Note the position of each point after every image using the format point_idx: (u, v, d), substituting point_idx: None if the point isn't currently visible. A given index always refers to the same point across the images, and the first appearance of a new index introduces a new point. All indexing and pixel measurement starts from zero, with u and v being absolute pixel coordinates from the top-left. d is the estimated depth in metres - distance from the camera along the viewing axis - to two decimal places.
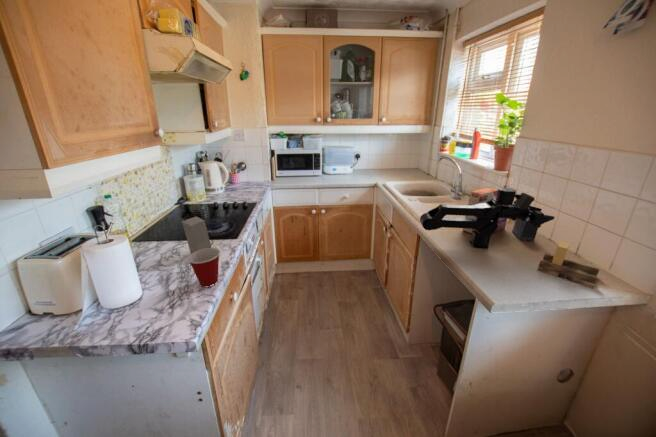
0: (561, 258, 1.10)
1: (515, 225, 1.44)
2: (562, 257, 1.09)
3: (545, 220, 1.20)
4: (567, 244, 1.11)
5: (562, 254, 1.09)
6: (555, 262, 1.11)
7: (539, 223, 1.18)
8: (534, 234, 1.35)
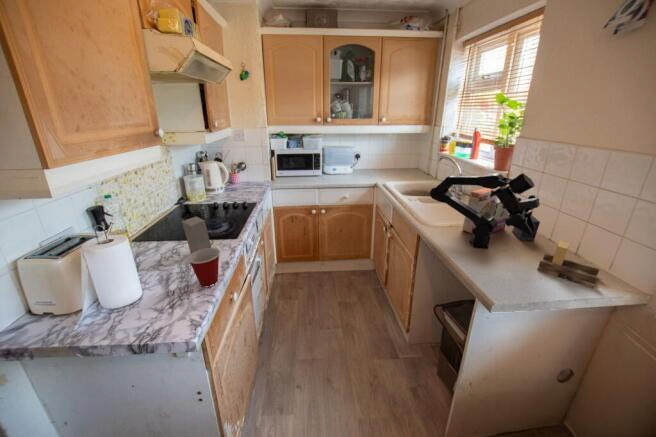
0: (561, 258, 1.10)
1: None
2: (562, 257, 1.09)
3: (521, 227, 1.16)
4: (567, 244, 1.11)
5: (562, 254, 1.09)
6: (555, 262, 1.11)
7: (511, 222, 1.13)
8: (534, 234, 1.35)
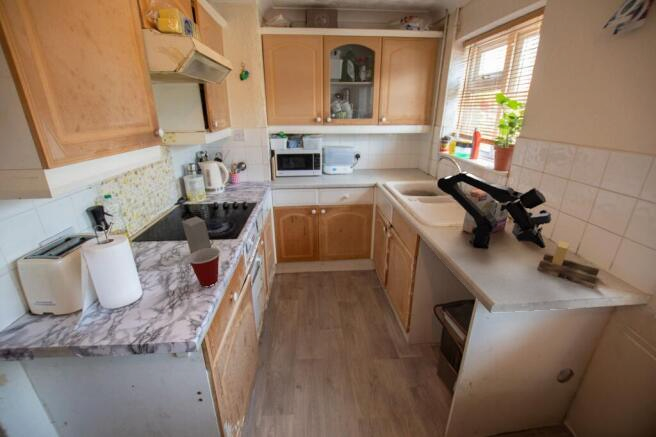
0: (561, 258, 1.10)
1: (515, 225, 1.44)
2: (562, 257, 1.09)
3: (534, 241, 1.16)
4: (567, 244, 1.11)
5: (562, 254, 1.09)
6: (555, 262, 1.11)
7: (522, 238, 1.12)
8: None
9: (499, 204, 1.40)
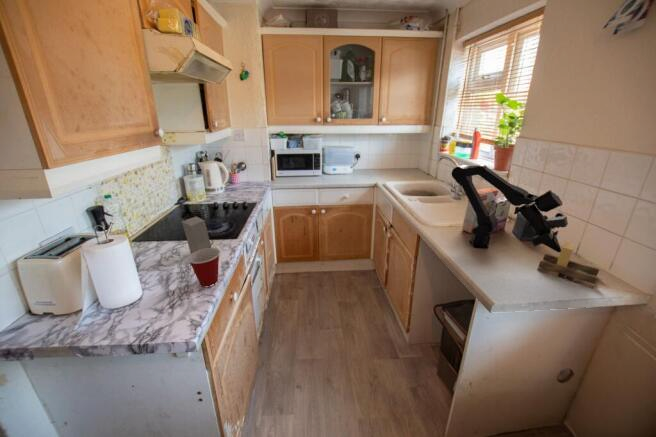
0: (566, 259, 1.09)
1: (515, 225, 1.44)
2: (567, 258, 1.08)
3: (550, 245, 1.12)
4: (572, 245, 1.10)
5: (567, 255, 1.08)
6: (560, 263, 1.11)
7: (538, 242, 1.08)
8: None
9: (499, 204, 1.40)
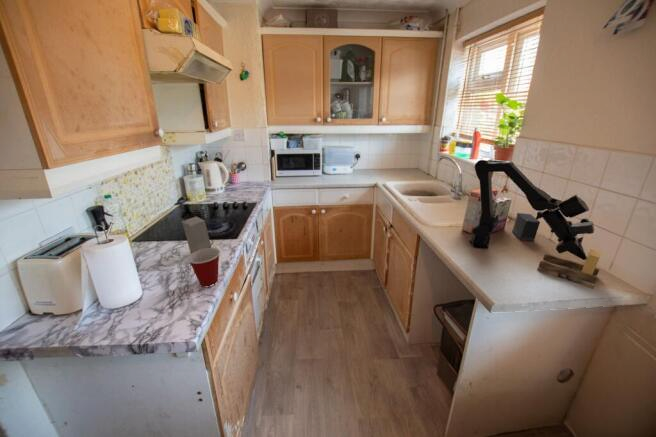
0: (592, 267, 1.04)
1: (515, 225, 1.44)
2: (593, 266, 1.04)
3: (574, 252, 1.08)
4: (598, 252, 1.05)
5: (593, 263, 1.03)
6: (585, 271, 1.06)
7: (563, 249, 1.03)
8: (534, 234, 1.35)
9: (499, 204, 1.40)
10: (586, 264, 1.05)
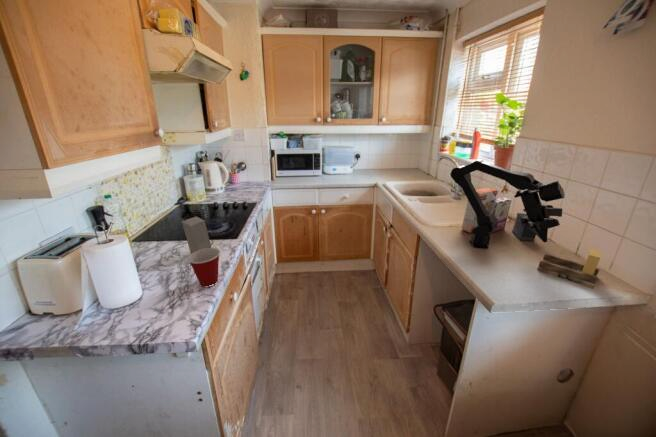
0: (593, 267, 1.04)
1: (515, 225, 1.44)
2: (594, 266, 1.03)
3: (541, 233, 1.13)
4: (599, 253, 1.05)
5: (594, 263, 1.03)
6: (586, 272, 1.05)
7: (547, 226, 1.06)
8: (534, 234, 1.35)
9: (499, 204, 1.40)
10: (587, 264, 1.05)
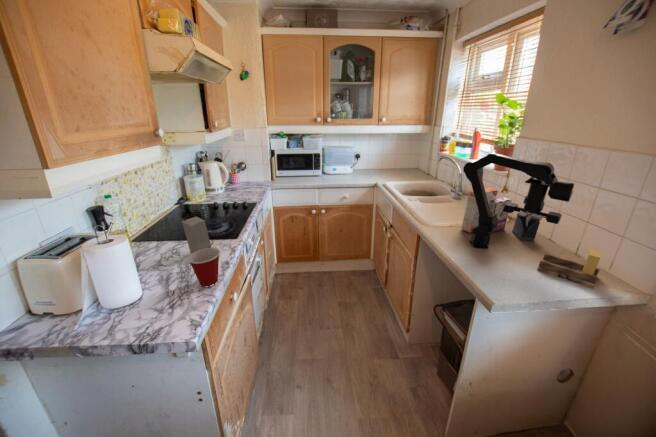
0: (593, 267, 1.04)
1: (515, 225, 1.44)
2: (594, 266, 1.03)
3: (531, 224, 1.16)
4: (599, 253, 1.05)
5: (594, 263, 1.03)
6: (586, 272, 1.05)
7: (559, 220, 1.09)
8: (534, 234, 1.35)
9: (499, 204, 1.40)
10: (587, 264, 1.05)
